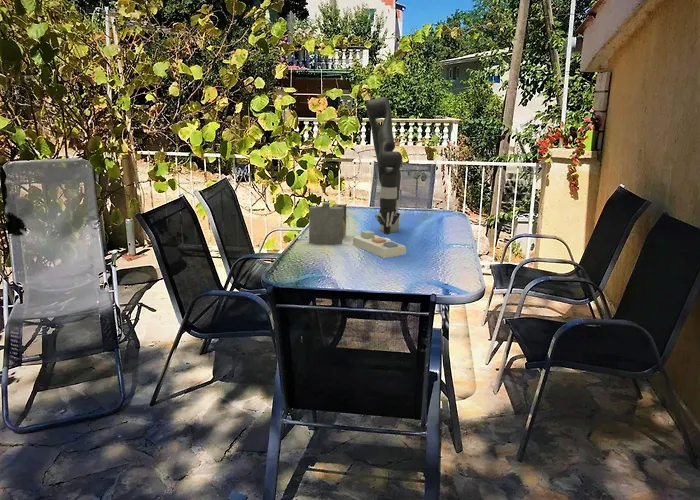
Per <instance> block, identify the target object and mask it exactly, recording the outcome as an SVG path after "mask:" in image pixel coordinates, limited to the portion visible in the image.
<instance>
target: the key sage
mask: <svg viewBox="0 0 700 500" xmlns="http://www.w3.org/2000/svg"><path fill="white" fill-rule="evenodd" d="M375 235H376V233H375V232H374V231H372V230H364V231H363V230H362V231H361V233H360V236H361V237H362V238H365V239H371V238H375Z"/></svg>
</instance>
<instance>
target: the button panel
mask: <svg viewBox="0 0 700 500" xmlns="http://www.w3.org/2000/svg"><path fill="white" fill-rule="evenodd" d="M375 238H383V239H385V240H386V242H384V243H387V242H393V243H396V244H398V247H392V248H388V247H386V246H383V243H375V242H373V241H372V239H373V238H371V239H365V238H362V237H361V235H358V236H353V237H352V245H353V246H354V247H357V248H358V249H362V250H363V251H366V252H369V253H370V254H373V255H376V256H378V257H381V258H383V259H388V258H394V256H395V257H399V256H398V255H401V256H403V255H402V254H406V253H407V246H406V245H403V244H402V243H398V242H397V241H393V240H390V239H387V238H385V237H382V236H379V235H376V234H375Z"/></svg>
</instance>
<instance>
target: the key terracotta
mask: <svg viewBox="0 0 700 500" xmlns="http://www.w3.org/2000/svg"><path fill="white" fill-rule="evenodd" d="M383 238H384V237H382V238H373V239H372V241H373V242H375V243H384V242H386V240H385V239H386V238H385V239H383Z"/></svg>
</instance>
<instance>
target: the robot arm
mask: <svg viewBox="0 0 700 500" xmlns="http://www.w3.org/2000/svg"><path fill="white" fill-rule="evenodd" d="M365 109H366V113H367V118H368V121H369V125H370V126H369V127H370V130H371V135H372V141H373V142H372V143H373V148H374V153H375V156H376V162H377V171H378V172H377V173H378V180H379V184H380V191H379V211H378V214H376V215H375V216H374V217H375V219H376V221H377V222H378V224H379V231H380V232H383V233H384V235H386V236H387V235H390V234H391V233H397V232H399V231H398V230H399V229H400V228H399V227H400V215H401V214H400V213H399V204H400V203H399V200H400V190H401V189H400V188H401V178H402V173H401V169H400V168H401V166H402V163H403V155H402V154H401V152H400V151H394V150H395V148H396V143H395V138H394V133H393V120H392V119H393V118H392V111H391V110H392V109H391V103H390V101H389V98H388V97H386V96H382V97H378V98H371V99H368V100H367V101H366V103H365ZM382 118H383V119H384V120H383V122H382V124H381V125H380V123H379V122H378V121H377V120H378V119H382Z"/></svg>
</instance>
